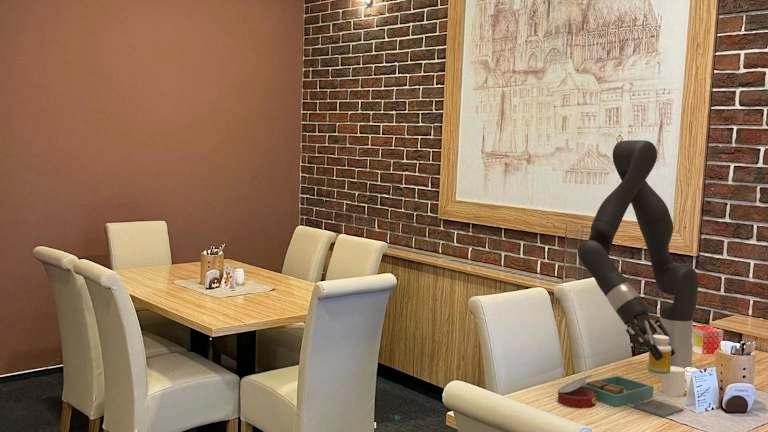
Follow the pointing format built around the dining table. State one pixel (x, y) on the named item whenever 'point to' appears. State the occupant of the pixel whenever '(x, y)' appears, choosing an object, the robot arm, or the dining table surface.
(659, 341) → the supplement bottle
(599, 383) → the walnut block
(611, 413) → the dining table surface
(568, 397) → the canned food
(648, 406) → the coaster
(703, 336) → the red patterned cube
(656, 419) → the dining table surface
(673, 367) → the cream cylinder
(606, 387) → the walnut block
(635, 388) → the teal tray
